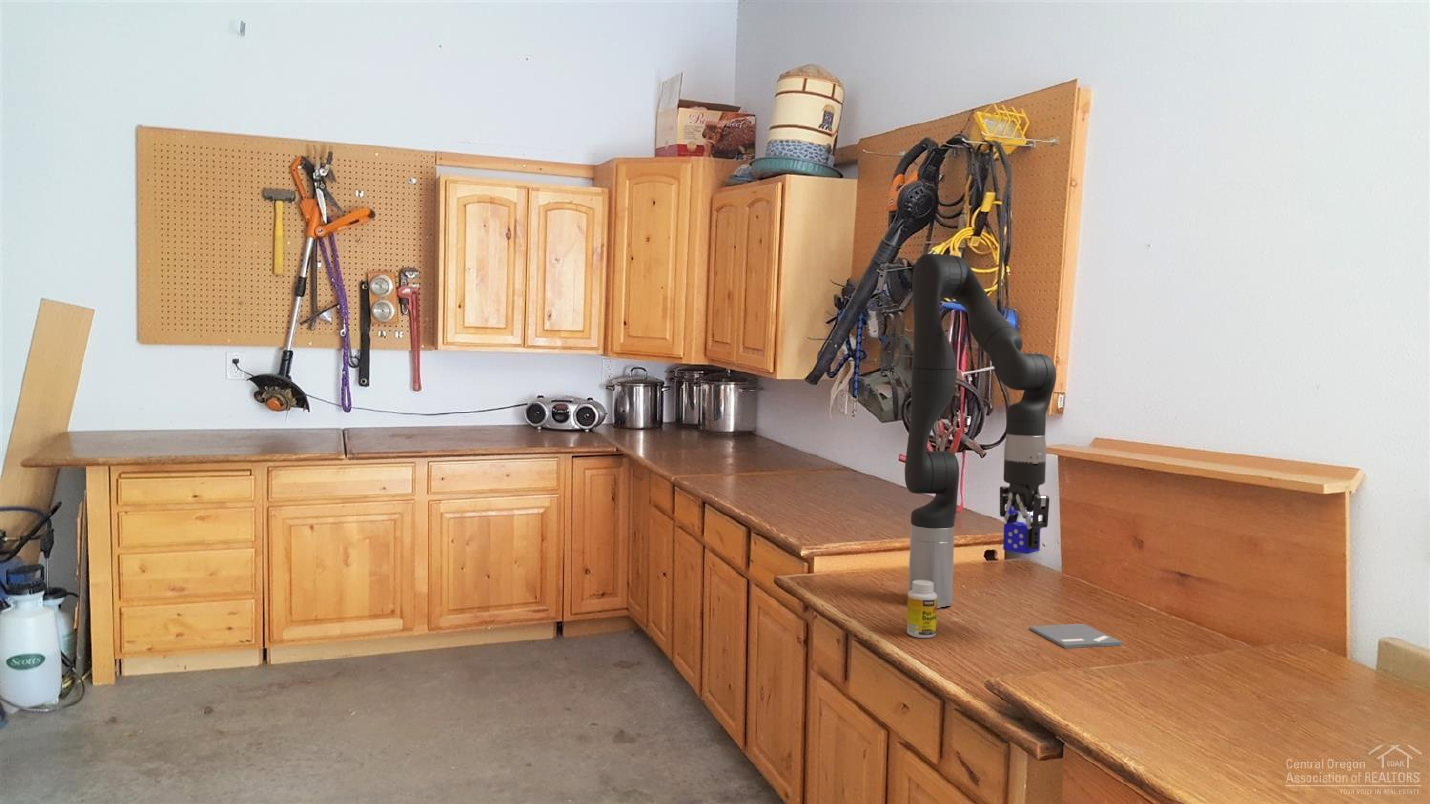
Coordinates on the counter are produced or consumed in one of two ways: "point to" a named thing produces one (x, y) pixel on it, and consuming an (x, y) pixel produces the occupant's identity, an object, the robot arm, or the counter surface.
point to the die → (1017, 538)
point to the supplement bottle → (922, 610)
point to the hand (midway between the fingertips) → (1022, 544)
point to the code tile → (1075, 635)
